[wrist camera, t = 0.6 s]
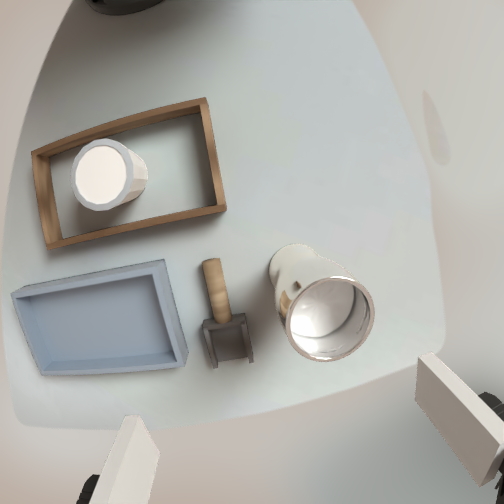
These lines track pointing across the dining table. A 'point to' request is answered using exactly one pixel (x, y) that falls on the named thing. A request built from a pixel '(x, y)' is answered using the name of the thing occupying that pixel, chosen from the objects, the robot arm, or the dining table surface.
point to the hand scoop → (223, 320)
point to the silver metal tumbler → (319, 304)
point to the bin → (103, 322)
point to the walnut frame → (130, 122)
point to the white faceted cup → (107, 175)
